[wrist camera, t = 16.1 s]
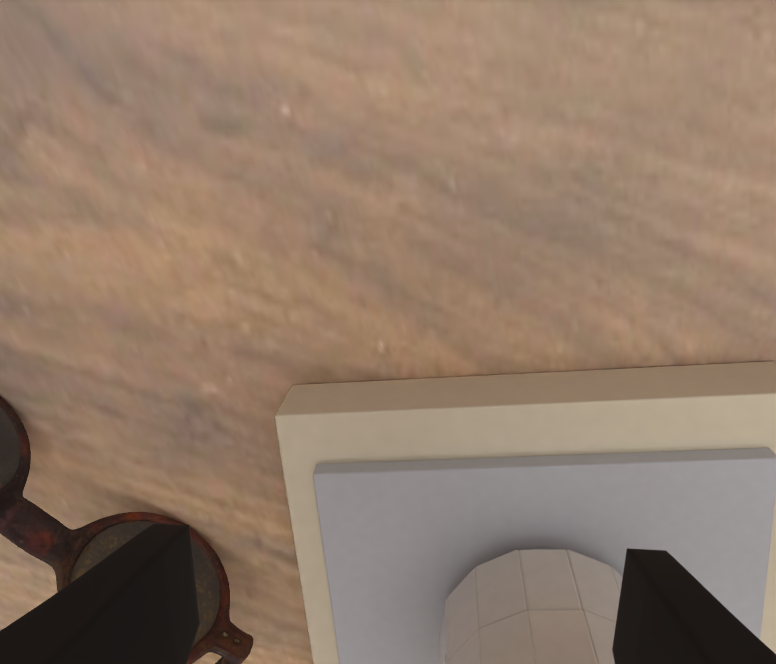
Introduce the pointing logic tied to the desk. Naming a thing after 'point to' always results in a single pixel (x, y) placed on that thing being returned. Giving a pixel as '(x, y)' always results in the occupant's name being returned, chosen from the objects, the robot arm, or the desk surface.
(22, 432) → the eyeglasses
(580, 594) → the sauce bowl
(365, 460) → the scale
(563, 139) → the desk surface
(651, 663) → the robot arm
